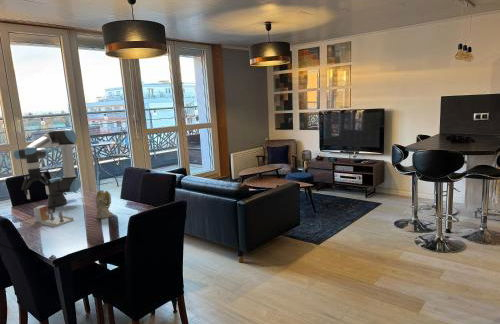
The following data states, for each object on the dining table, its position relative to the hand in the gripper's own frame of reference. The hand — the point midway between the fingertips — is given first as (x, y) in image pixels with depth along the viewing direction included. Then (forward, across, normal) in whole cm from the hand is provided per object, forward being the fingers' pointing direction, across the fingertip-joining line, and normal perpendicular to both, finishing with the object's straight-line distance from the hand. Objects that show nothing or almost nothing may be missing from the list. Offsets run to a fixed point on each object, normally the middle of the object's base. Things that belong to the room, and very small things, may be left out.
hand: (38, 196), depth 251 cm
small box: (+19, 0, 0) cm, 19 cm away
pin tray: (+18, -2, +16) cm, 24 cm away
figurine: (+19, -24, +40) cm, 50 cm away
